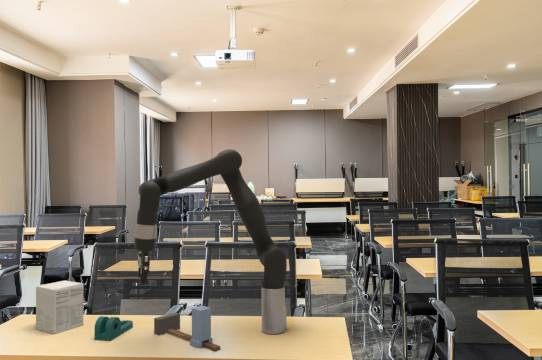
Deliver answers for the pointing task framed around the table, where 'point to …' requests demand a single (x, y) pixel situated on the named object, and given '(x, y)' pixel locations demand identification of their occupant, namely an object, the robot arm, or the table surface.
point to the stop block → (166, 323)
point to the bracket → (111, 328)
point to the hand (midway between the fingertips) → (142, 280)
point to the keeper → (201, 326)
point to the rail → (188, 337)
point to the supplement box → (59, 306)
